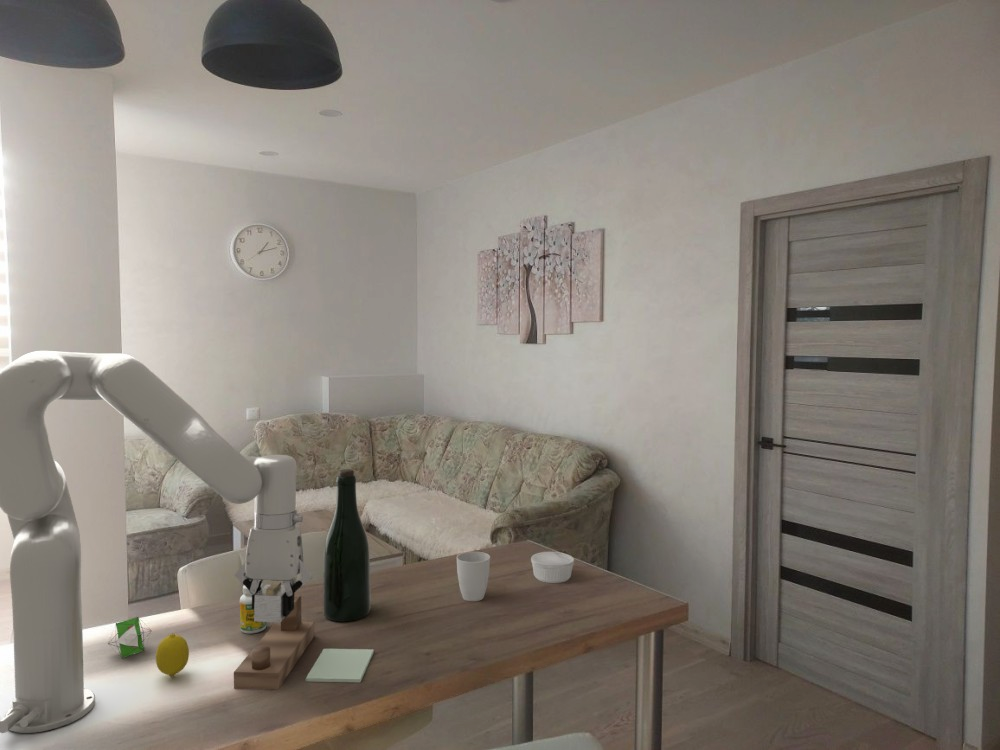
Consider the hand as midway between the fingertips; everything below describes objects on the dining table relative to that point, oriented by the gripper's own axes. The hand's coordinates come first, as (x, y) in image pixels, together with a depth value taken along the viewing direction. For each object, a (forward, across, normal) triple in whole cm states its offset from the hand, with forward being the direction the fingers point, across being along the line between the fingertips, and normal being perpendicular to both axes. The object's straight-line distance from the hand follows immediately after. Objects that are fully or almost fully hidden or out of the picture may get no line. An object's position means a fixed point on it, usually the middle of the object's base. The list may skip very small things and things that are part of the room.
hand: (272, 612), depth 134 cm
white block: (+1, 0, 0) cm, 1 cm away
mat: (+9, -14, +1) cm, 17 cm away
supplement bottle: (+10, +9, -15) cm, 20 cm away
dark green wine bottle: (+9, -9, -24) cm, 27 cm away
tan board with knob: (+10, -1, -1) cm, 10 cm away
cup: (+8, -37, -35) cm, 51 cm away
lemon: (+10, +16, +6) cm, 20 cm away
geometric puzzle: (+11, +29, -3) cm, 31 cm away
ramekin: (+8, -57, -50) cm, 76 cm away
